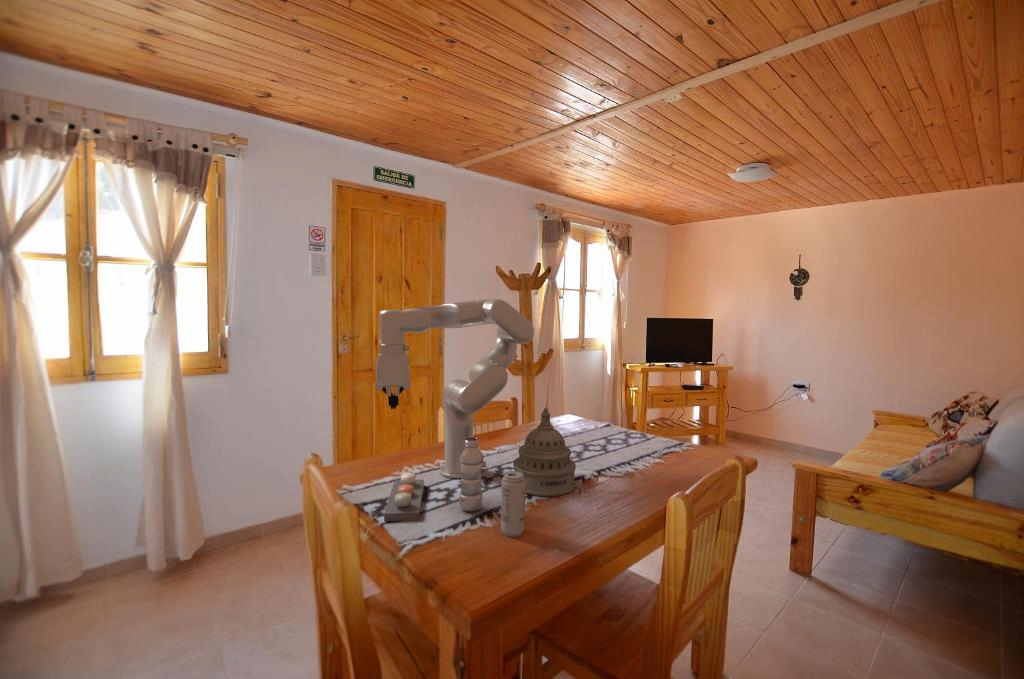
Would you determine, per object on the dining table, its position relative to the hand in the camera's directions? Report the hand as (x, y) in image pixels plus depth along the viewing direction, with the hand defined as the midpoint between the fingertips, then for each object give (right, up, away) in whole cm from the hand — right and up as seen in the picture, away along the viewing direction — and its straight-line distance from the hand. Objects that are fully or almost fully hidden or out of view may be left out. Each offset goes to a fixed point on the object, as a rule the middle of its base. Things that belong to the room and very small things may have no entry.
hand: (393, 407), depth 145 cm
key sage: (+7, -23, -19) cm, 31 cm away
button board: (+6, -26, -11) cm, 29 cm away
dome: (+47, -25, +4) cm, 54 cm away
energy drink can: (+37, -28, -28) cm, 54 cm away
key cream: (+6, -23, -4) cm, 24 cm away
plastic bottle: (+26, -26, -15) cm, 40 cm away
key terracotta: (+6, -24, -11) cm, 27 cm away
